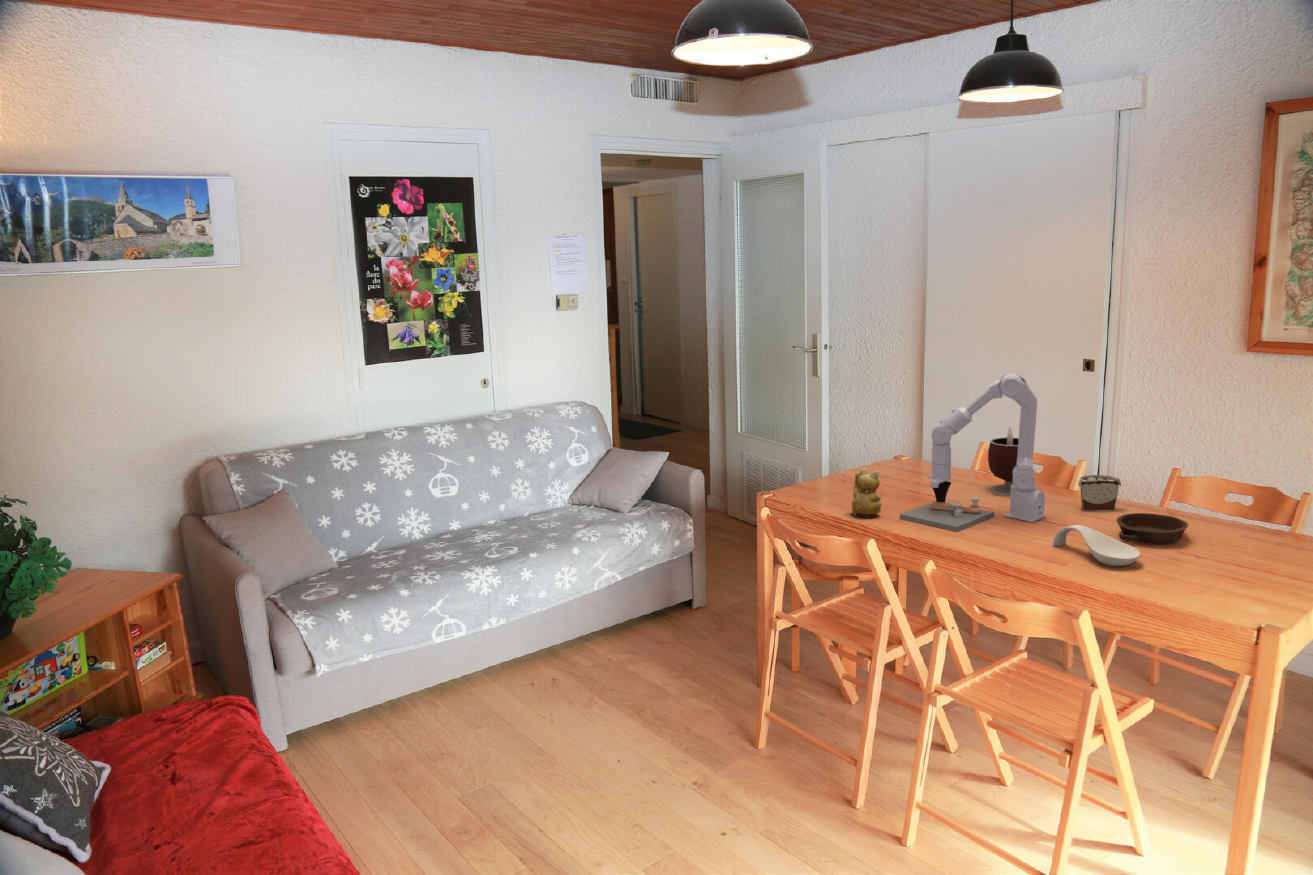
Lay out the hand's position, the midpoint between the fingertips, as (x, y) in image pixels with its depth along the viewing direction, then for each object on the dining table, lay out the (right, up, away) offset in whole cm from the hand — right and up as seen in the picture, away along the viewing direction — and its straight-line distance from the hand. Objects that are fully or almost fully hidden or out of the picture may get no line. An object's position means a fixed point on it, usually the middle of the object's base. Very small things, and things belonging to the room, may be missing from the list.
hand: (940, 504), depth 294 cm
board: (0, -4, -6) cm, 7 cm away
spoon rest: (+27, -11, -45) cm, 54 cm away
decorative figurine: (-23, -4, +1) cm, 24 cm away
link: (+3, -1, -4) cm, 5 cm away
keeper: (+2, -3, -8) cm, 9 cm away
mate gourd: (+29, +3, +21) cm, 36 cm away
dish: (+49, -7, -32) cm, 59 cm away
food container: (+47, -1, -3) cm, 47 cm away
